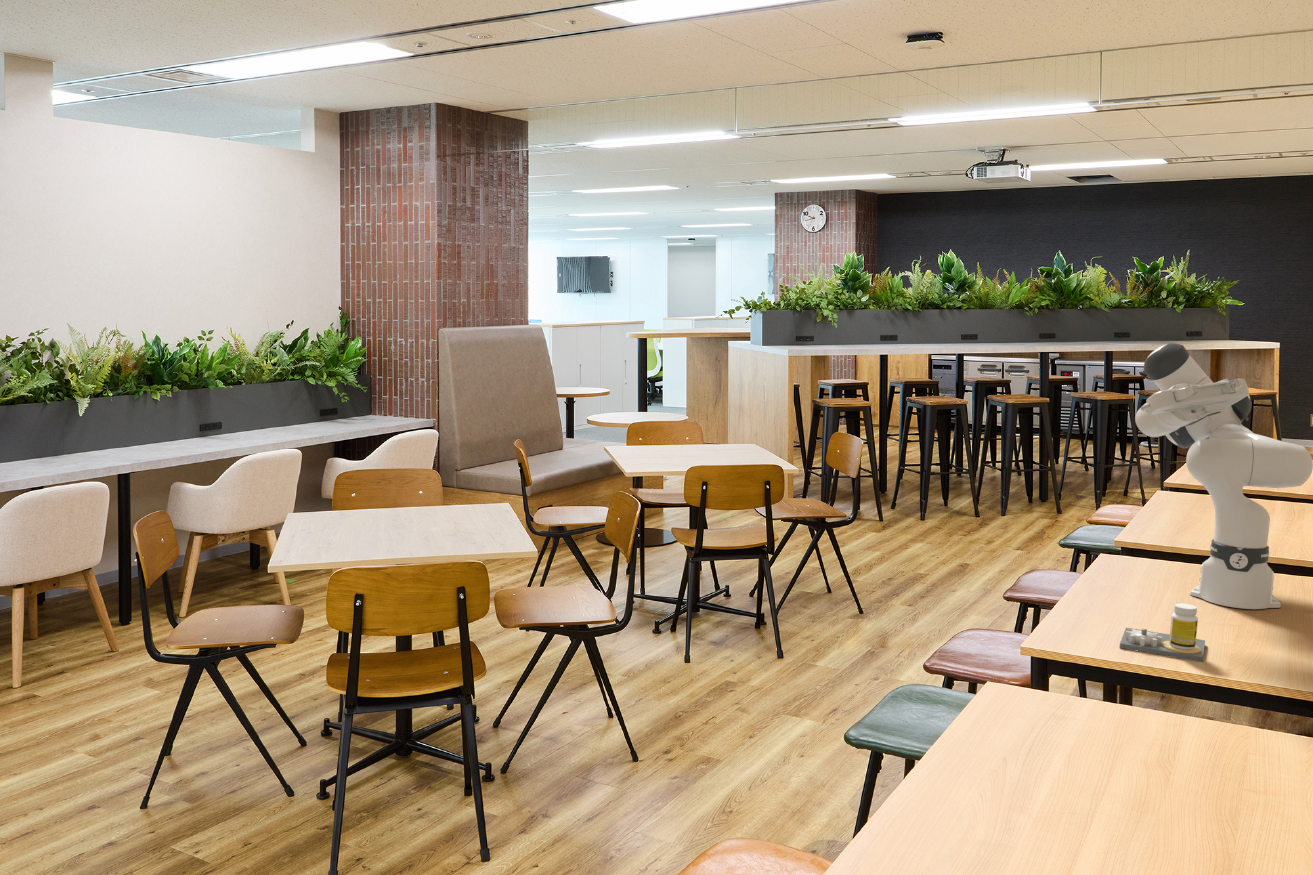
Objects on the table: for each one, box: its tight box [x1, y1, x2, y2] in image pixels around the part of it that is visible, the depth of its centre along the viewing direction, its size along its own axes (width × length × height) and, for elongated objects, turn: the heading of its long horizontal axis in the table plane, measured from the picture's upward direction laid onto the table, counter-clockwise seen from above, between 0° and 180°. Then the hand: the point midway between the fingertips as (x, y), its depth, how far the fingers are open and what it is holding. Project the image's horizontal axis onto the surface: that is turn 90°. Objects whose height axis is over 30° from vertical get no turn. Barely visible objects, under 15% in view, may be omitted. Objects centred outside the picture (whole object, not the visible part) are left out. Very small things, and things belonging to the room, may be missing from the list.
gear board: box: [1119, 627, 1206, 663], centre depth 209 cm, size 12×15×4 cm
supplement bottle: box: [1169, 602, 1199, 650], centre depth 205 cm, size 5×5×8 cm
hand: (1216, 385), depth 212 cm, fingers open, 8 cm apart
